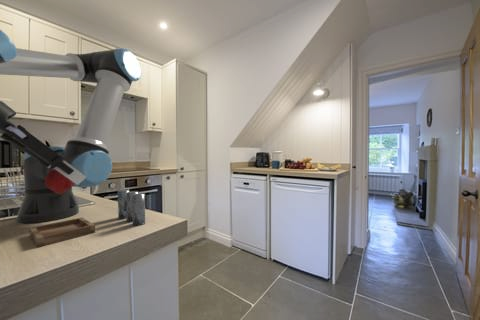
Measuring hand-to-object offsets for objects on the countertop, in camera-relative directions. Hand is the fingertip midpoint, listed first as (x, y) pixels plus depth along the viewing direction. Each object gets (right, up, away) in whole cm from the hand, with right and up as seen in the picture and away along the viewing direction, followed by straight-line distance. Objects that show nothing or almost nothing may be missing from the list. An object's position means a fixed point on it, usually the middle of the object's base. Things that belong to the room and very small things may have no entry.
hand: (78, 179), depth 55 cm
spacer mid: (+10, -14, +9) cm, 19 cm away
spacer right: (+14, -14, +6) cm, 20 cm away
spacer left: (+6, -14, +12) cm, 19 cm away
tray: (-2, -14, -2) cm, 14 cm away
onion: (-2, -4, -3) cm, 5 cm away
